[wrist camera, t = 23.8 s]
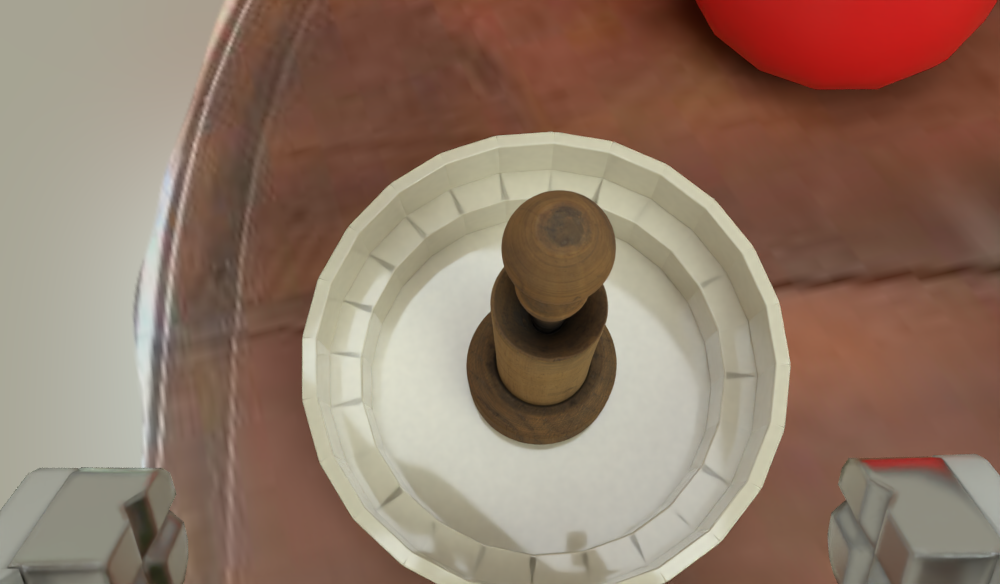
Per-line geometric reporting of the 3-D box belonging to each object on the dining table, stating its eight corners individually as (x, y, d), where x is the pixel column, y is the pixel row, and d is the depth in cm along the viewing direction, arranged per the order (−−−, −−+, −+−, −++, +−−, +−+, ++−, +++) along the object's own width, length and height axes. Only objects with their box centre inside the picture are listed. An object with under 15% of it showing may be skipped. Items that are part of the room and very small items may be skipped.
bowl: (402, 665, 35) (381, 688, 29) (287, 260, 41) (250, 213, 35) (818, 512, 37) (874, 505, 31) (653, 141, 42) (675, 77, 36)
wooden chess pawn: (514, 278, 39) (515, 69, 22) (637, 345, 38) (738, 180, 21) (442, 400, 38) (380, 277, 20) (568, 473, 37) (616, 408, 19)
